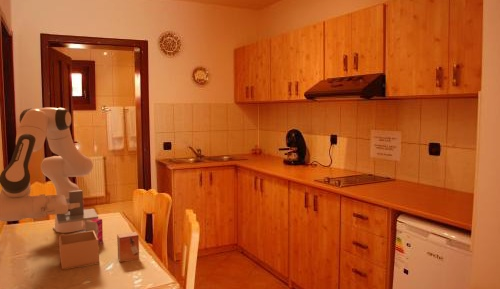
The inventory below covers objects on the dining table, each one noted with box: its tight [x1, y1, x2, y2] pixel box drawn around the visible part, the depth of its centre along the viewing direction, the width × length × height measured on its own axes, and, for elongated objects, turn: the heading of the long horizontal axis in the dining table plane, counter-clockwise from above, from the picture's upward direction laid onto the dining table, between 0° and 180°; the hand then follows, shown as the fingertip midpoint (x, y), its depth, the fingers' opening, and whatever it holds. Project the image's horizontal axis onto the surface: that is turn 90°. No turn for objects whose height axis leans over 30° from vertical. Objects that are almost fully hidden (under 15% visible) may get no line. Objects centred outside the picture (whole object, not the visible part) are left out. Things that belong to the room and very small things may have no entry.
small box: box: [116, 231, 140, 263], centre depth 170 cm, size 8×6×10 cm
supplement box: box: [84, 218, 104, 245], centre depth 189 cm, size 6×6×12 cm
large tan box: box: [58, 231, 100, 271], centre depth 168 cm, size 14×14×10 cm
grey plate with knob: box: [57, 189, 99, 224], centre depth 166 cm, size 15×15×11 cm
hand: (78, 202), depth 167 cm, fingers open, 8 cm apart
